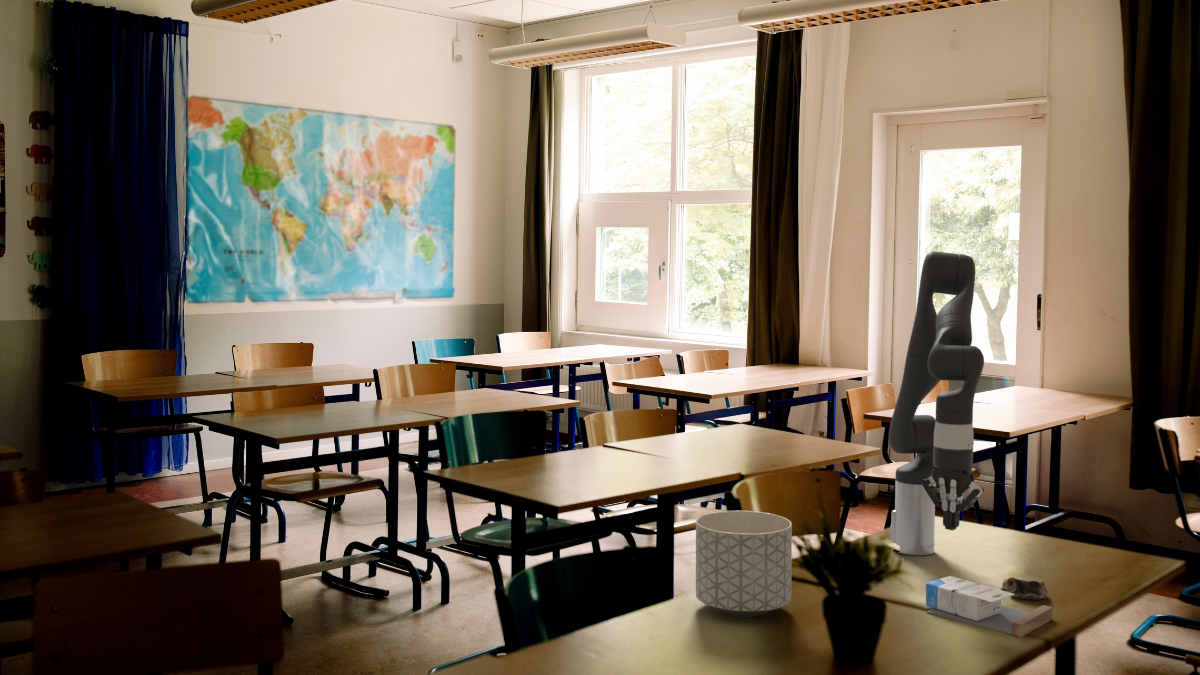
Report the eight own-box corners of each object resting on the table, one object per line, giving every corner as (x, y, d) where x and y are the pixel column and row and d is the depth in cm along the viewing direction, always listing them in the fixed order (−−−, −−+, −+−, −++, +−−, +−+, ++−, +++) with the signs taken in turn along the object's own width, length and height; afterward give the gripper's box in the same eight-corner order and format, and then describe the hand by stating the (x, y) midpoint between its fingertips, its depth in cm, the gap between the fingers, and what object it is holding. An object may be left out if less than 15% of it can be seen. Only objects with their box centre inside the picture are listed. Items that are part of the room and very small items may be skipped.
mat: (927, 612, 201) (927, 611, 201) (960, 597, 211) (960, 595, 210) (1010, 634, 189) (1010, 633, 189) (1042, 616, 198) (1042, 615, 198)
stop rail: (1011, 634, 189) (1011, 622, 188) (1043, 617, 198) (1043, 605, 198) (1021, 637, 187) (1021, 624, 187) (1052, 619, 197) (1052, 607, 197)
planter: (802, 625, 194) (803, 532, 193) (704, 628, 193) (704, 535, 192) (778, 594, 213) (778, 509, 212) (688, 596, 212) (689, 511, 210)
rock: (1054, 604, 207) (1040, 580, 216) (1049, 578, 206) (1035, 556, 215) (1010, 612, 209) (999, 588, 218) (1005, 587, 207) (993, 564, 217)
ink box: (925, 606, 204) (990, 626, 192) (925, 582, 203) (990, 601, 192) (950, 598, 209) (1015, 617, 197) (950, 574, 208) (1016, 592, 197)
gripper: (913, 442, 205) (911, 526, 206) (975, 451, 195) (973, 539, 196) (932, 437, 210) (930, 519, 211) (993, 446, 200) (991, 532, 201)
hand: (951, 529), depth 204 cm, fingers closed
